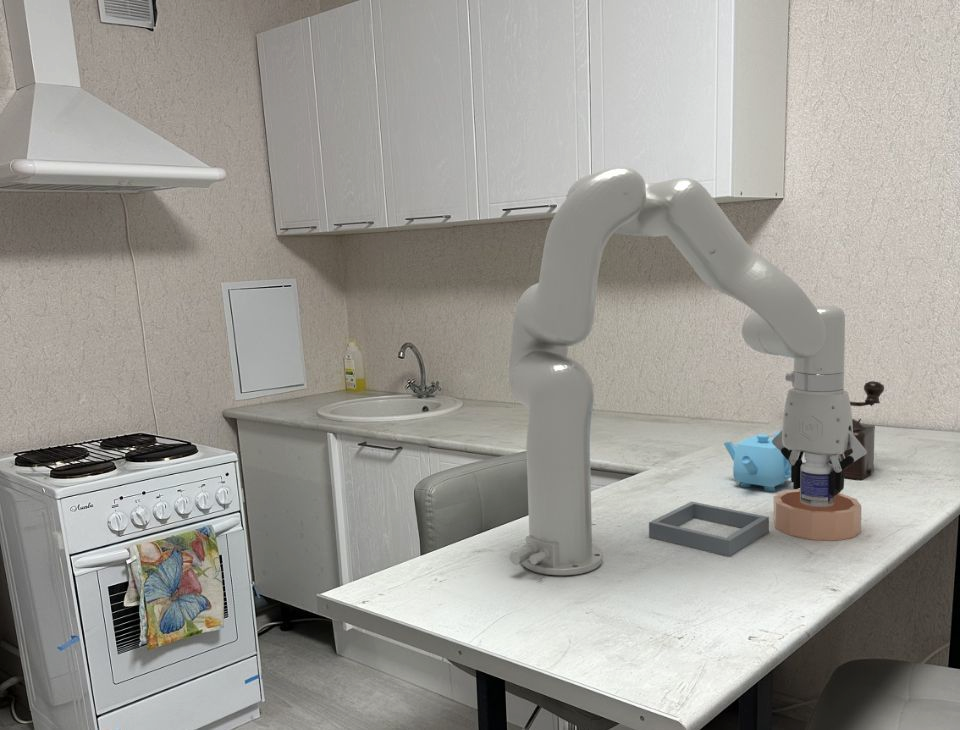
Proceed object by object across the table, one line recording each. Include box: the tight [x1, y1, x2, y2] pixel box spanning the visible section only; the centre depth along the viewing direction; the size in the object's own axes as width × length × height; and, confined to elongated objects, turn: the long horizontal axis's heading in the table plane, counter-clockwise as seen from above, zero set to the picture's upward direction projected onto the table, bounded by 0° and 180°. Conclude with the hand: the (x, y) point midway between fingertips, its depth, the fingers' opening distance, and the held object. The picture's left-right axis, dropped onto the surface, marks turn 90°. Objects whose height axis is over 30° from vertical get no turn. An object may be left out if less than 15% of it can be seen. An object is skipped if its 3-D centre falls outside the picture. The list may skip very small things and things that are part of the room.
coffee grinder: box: [829, 380, 885, 481], centre depth 164 cm, size 16×11×18 cm
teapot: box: [723, 430, 791, 492], centre depth 156 cm, size 18×14×10 cm
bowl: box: [772, 488, 862, 542], centre depth 131 cm, size 13×13×4 cm
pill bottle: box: [799, 452, 834, 508], centre depth 131 cm, size 5×5×9 cm
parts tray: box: [648, 501, 770, 558], centre depth 130 cm, size 14×14×2 cm
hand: (816, 489), depth 131 cm, fingers closed on pill bottle, 5 cm apart
